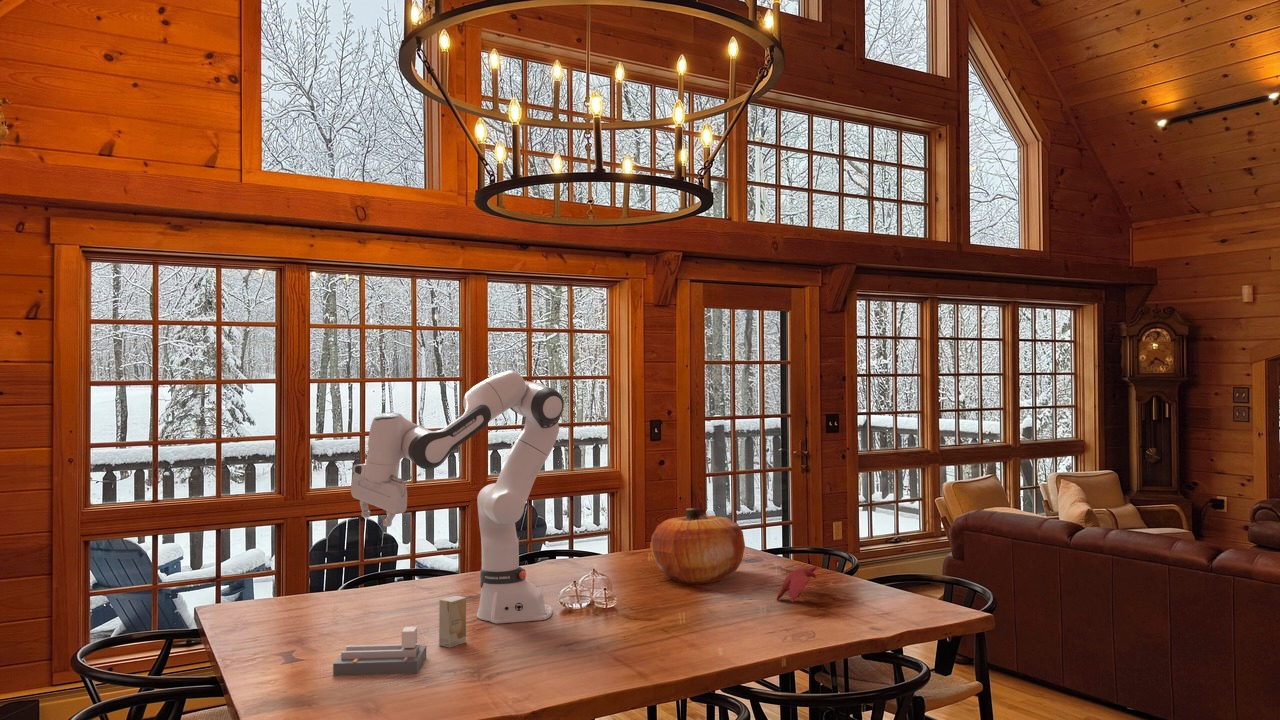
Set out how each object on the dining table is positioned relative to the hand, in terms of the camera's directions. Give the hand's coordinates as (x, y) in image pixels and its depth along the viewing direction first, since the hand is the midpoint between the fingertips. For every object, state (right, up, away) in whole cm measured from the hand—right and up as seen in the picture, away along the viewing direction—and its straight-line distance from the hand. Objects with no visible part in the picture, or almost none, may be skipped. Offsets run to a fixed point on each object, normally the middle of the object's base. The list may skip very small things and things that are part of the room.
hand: (376, 521), depth 236 cm
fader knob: (+15, -29, -20) cm, 38 cm away
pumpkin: (+93, -33, +69) cm, 120 cm away
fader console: (+8, -32, -21) cm, 39 cm away
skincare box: (+22, -33, -3) cm, 39 cm away
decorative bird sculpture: (+122, -32, +37) cm, 131 cm away
